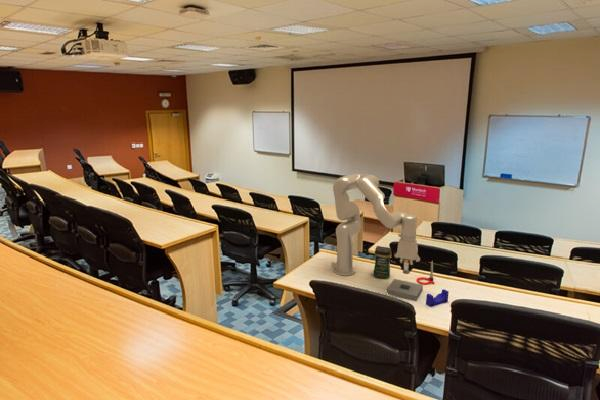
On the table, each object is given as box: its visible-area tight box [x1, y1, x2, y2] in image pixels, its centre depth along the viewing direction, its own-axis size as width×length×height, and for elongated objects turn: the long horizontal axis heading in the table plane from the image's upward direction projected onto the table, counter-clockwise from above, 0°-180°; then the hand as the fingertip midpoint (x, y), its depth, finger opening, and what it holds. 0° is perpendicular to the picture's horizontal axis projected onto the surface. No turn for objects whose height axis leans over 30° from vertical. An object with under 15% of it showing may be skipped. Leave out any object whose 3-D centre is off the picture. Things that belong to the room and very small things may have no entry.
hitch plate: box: [386, 278, 424, 302], centre depth 204 cm, size 16×14×3 cm
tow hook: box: [416, 260, 435, 286], centre depth 215 cm, size 8×13×9 cm
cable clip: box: [425, 288, 450, 308], centre depth 193 cm, size 12×4×6 cm, turn 115°
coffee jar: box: [373, 245, 392, 280], centre depth 221 cm, size 10×8×19 cm
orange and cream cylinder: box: [402, 259, 411, 275], centre depth 200 cm, size 4×4×8 cm
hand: (406, 269), depth 201 cm, fingers closed on orange and cream cylinder, 3 cm apart
